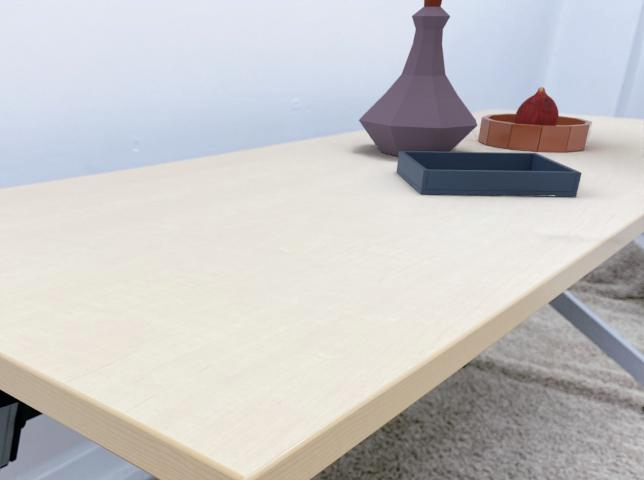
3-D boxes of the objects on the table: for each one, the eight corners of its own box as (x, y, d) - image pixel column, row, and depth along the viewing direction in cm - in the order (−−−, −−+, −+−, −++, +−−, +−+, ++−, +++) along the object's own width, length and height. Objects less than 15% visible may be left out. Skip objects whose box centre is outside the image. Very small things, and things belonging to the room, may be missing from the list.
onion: (559, 147, 103) (571, 89, 100) (520, 146, 103) (531, 88, 100) (542, 140, 108) (553, 85, 105) (504, 140, 108) (514, 85, 105)
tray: (531, 174, 84) (536, 152, 83) (576, 196, 73) (581, 172, 72) (396, 172, 85) (398, 150, 84) (420, 194, 74) (423, 170, 73)
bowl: (560, 137, 112) (565, 114, 111) (604, 152, 99) (610, 126, 97) (467, 135, 113) (470, 113, 111) (498, 151, 99) (503, 125, 98)
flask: (494, 151, 99) (521, -7, 91) (447, 167, 88) (473, -12, 80) (386, 139, 109) (402, -5, 101) (331, 152, 98) (344, -9, 89)
